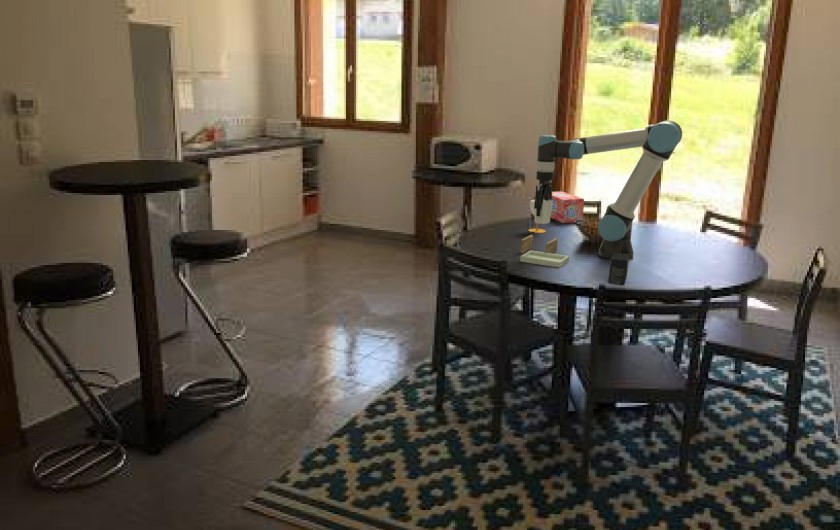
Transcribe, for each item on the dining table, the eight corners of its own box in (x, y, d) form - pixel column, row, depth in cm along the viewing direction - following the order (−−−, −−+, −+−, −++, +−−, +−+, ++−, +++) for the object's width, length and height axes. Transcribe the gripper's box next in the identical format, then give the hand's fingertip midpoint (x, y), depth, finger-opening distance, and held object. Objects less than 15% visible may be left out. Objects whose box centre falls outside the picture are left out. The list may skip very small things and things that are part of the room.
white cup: (550, 224, 302) (551, 202, 299) (532, 223, 304) (533, 201, 301) (551, 220, 309) (552, 199, 307) (534, 219, 311) (535, 198, 308)
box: (541, 214, 398) (542, 191, 394) (561, 213, 401) (562, 190, 398) (562, 224, 373) (564, 199, 369) (583, 223, 376) (585, 198, 373)
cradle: (556, 251, 316) (557, 238, 314) (547, 256, 306) (548, 243, 304) (530, 247, 322) (530, 234, 320) (520, 252, 312) (521, 239, 310)
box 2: (624, 285, 266) (627, 260, 263) (607, 283, 268) (609, 258, 265) (627, 278, 275) (629, 253, 272) (610, 276, 278) (612, 251, 275)
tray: (568, 261, 299) (569, 256, 298) (559, 267, 289) (560, 262, 288) (530, 255, 308) (530, 250, 307) (520, 261, 298) (520, 256, 297)
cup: (525, 229, 358) (527, 199, 353) (540, 228, 360) (542, 198, 356) (533, 233, 349) (535, 202, 345) (549, 232, 352) (551, 202, 348)
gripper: (546, 167, 310) (543, 216, 317) (528, 172, 294) (525, 224, 300) (561, 169, 307) (558, 218, 313) (544, 174, 290) (541, 226, 296)
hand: (542, 221), depth 306 cm, fingers closed on white cup, 8 cm apart
